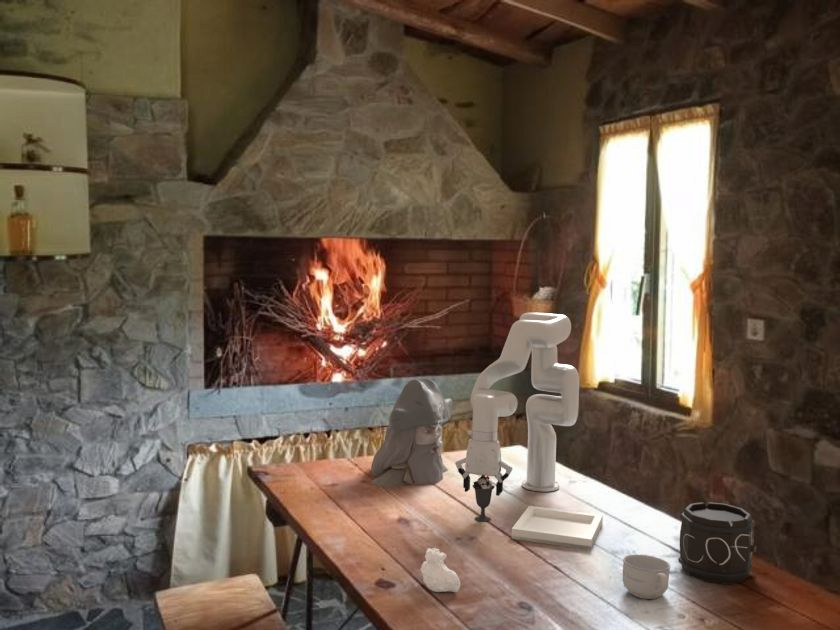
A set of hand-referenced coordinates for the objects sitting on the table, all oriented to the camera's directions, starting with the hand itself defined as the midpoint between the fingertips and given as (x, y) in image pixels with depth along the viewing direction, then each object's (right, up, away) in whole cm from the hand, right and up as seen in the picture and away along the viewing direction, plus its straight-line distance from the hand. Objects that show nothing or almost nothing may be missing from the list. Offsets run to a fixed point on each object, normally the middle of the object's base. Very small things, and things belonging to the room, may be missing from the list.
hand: (482, 492), depth 249 cm
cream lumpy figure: (-14, -13, -50) cm, 53 cm away
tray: (+21, -9, -9) cm, 25 cm away
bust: (-21, -4, +46) cm, 51 cm away
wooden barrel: (+57, -13, -36) cm, 68 cm away
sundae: (0, -8, +1) cm, 8 cm away
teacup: (+35, -14, -52) cm, 64 cm away
